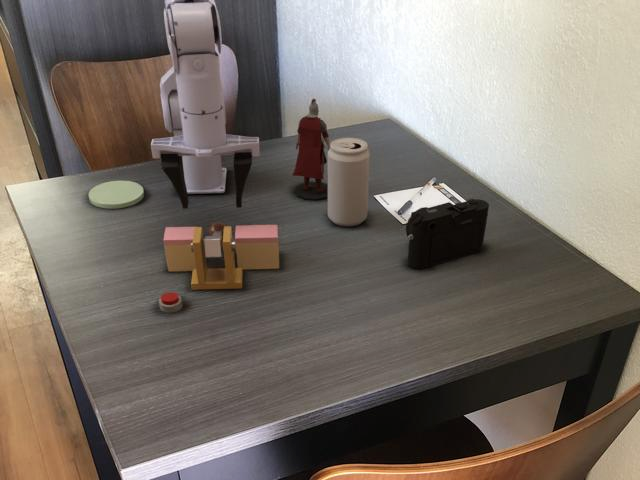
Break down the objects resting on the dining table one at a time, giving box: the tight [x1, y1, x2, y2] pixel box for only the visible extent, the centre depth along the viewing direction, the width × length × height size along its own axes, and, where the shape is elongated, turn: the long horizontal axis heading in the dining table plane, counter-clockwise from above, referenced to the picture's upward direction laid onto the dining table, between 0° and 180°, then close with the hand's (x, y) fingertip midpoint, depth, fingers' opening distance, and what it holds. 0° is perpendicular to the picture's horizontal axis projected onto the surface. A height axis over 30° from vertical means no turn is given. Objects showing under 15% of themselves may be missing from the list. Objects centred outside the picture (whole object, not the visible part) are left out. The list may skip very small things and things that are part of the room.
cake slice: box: [162, 226, 196, 273], centre depth 105 cm, size 4×4×5 cm
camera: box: [405, 198, 490, 270], centre depth 108 cm, size 14×7×8 cm, turn 120°
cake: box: [234, 224, 280, 271], centre depth 106 cm, size 4×6×5 cm, turn 94°
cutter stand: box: [190, 225, 244, 291], centre depth 101 cm, size 4×7×7 cm, turn 94°
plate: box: [88, 180, 145, 210], centre depth 122 cm, size 9×9×1 cm
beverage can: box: [327, 137, 371, 227], centre depth 113 cm, size 6×6×12 cm
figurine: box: [291, 98, 330, 201], centre depth 119 cm, size 7×7×15 cm
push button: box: [158, 291, 183, 314], centre depth 98 cm, size 3×3×2 cm
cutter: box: [203, 221, 227, 258], centre depth 104 cm, size 13×3×3 cm, turn 4°
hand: (212, 205), depth 106 cm, fingers open, 7 cm apart
